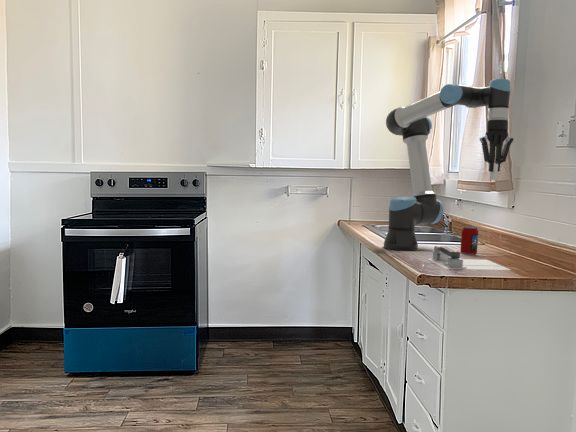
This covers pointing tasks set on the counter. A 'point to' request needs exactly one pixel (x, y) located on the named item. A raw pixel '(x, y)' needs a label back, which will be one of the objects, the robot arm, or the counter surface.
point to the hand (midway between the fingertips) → (493, 180)
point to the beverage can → (469, 240)
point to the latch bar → (450, 252)
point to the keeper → (439, 254)
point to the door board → (473, 264)
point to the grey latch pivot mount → (455, 263)
